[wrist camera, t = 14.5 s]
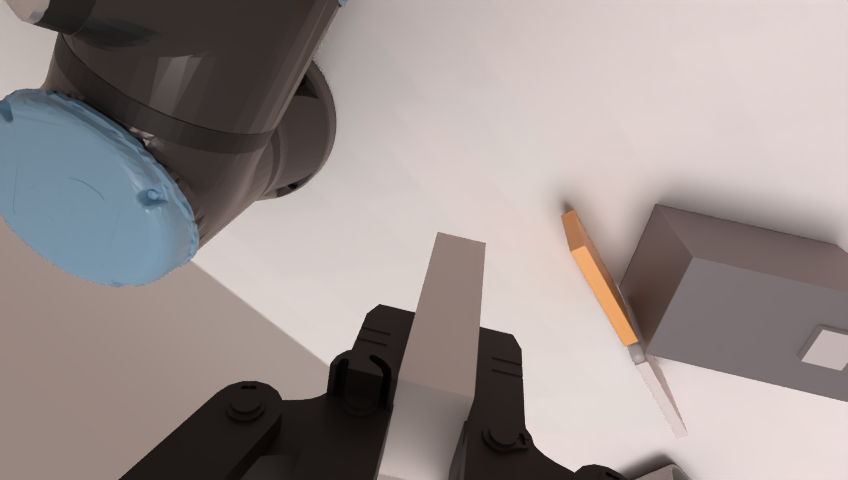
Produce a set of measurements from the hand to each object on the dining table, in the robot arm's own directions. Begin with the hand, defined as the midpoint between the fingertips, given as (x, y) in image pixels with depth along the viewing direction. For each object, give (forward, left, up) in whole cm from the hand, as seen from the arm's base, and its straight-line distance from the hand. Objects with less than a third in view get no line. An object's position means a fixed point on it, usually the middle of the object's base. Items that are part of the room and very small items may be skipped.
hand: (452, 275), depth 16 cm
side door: (+17, -16, -29) cm, 37 cm away
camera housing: (+26, -11, -30) cm, 41 cm away
